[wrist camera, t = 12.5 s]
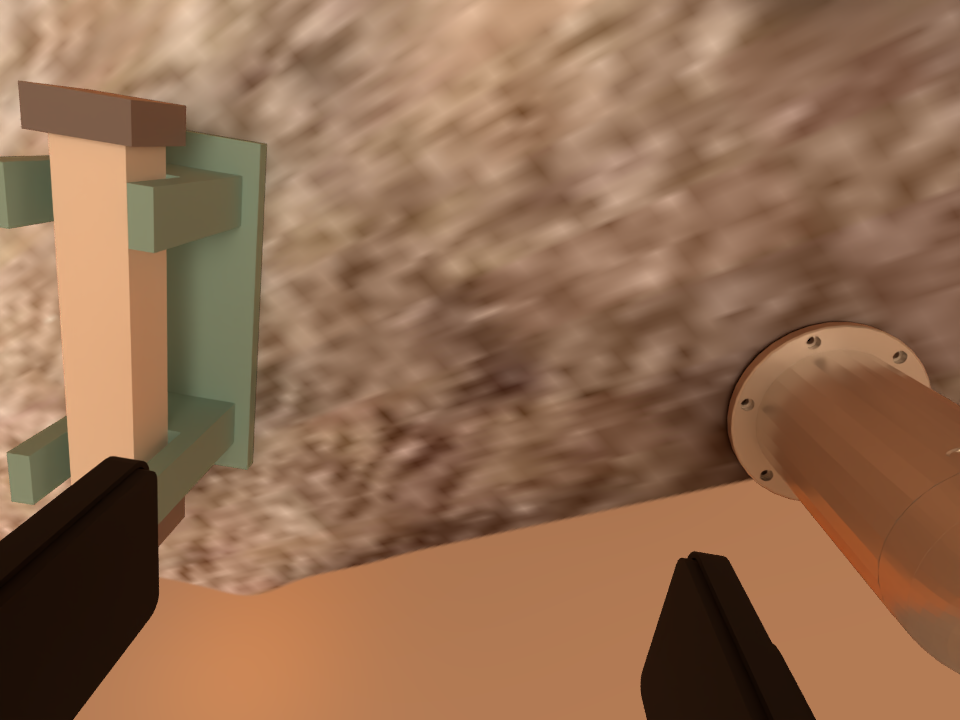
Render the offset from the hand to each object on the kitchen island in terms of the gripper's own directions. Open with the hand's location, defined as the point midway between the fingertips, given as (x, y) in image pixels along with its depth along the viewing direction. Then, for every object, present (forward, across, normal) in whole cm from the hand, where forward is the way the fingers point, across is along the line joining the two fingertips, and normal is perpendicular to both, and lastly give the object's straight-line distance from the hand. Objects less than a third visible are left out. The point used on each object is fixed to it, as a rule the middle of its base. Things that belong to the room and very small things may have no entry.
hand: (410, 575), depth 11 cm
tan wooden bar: (+25, +19, +6) cm, 32 cm away
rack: (+30, +19, +6) cm, 36 cm away
